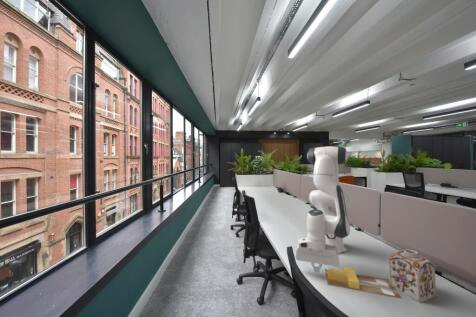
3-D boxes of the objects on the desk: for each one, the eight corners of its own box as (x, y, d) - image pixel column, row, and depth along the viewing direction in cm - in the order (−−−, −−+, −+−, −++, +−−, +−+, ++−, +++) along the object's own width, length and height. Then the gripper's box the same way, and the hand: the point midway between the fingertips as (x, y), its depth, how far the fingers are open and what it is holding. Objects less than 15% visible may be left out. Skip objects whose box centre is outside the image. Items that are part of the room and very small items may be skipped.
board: (324, 270, 102) (324, 269, 102) (388, 281, 92) (388, 279, 92) (327, 286, 89) (327, 284, 89) (402, 301, 79) (402, 298, 79)
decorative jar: (437, 297, 82) (435, 255, 82) (420, 304, 78) (418, 259, 78) (404, 281, 93) (403, 244, 93) (388, 286, 89) (387, 247, 90)
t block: (327, 270, 100) (326, 264, 101) (353, 274, 96) (353, 268, 97) (329, 283, 89) (329, 277, 89) (359, 289, 85) (359, 282, 85)
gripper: (338, 243, 96) (338, 271, 96) (295, 238, 103) (296, 264, 103) (340, 248, 90) (340, 278, 90) (295, 243, 97) (295, 270, 97)
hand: (316, 271), depth 96 cm, fingers closed
